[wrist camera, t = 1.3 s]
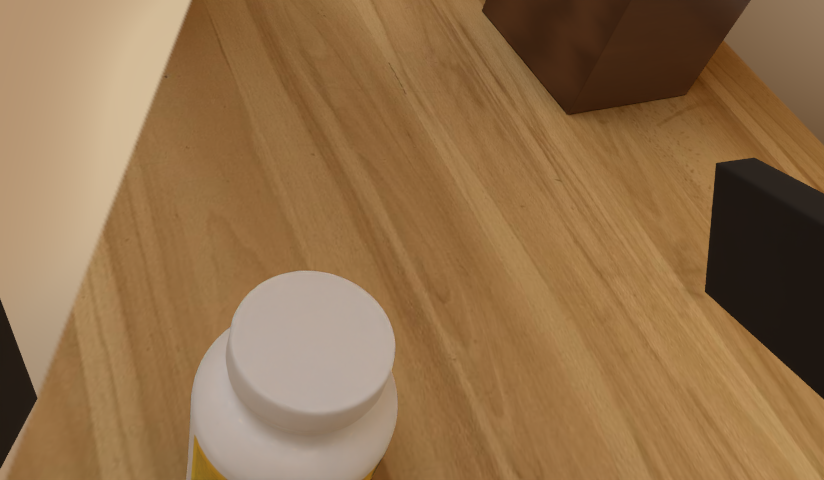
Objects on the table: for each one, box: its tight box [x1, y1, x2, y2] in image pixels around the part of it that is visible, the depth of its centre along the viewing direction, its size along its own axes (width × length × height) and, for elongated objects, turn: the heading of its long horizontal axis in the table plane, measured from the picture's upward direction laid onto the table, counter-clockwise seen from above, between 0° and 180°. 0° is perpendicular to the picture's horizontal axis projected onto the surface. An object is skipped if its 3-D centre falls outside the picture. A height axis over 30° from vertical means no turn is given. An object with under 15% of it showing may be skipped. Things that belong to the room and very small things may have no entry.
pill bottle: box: [186, 271, 398, 480], centre depth 24 cm, size 6×6×12 cm
